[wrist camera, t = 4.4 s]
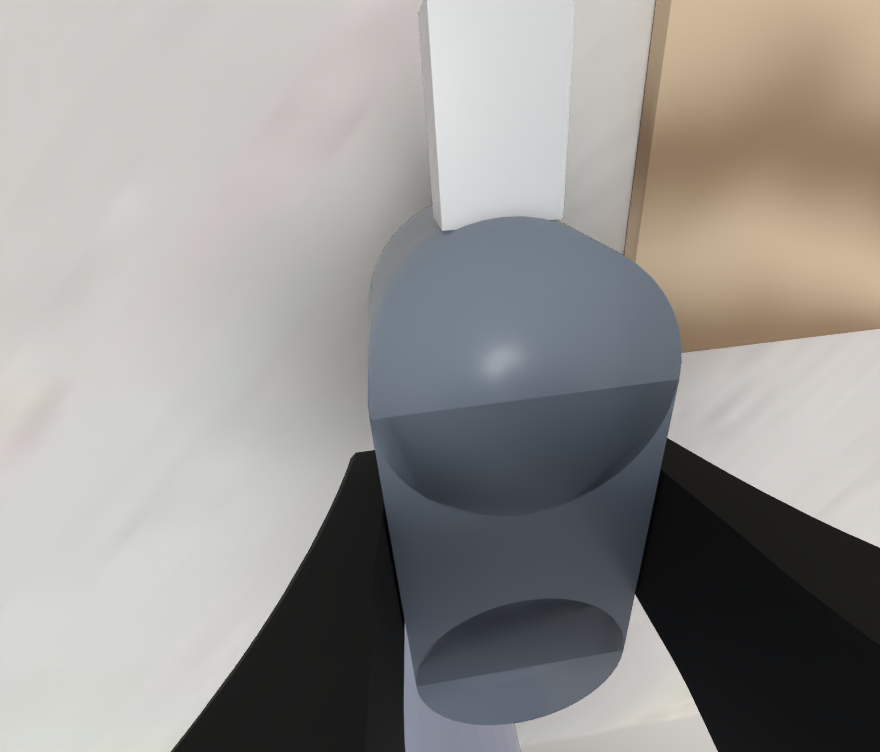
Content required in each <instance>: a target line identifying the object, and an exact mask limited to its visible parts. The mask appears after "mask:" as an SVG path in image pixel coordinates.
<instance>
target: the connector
mask: <svg viewBox="0 0 880 752" xmlns="http://www.w3.org/2000/svg"><path fill="white" fill-rule="evenodd" d="M574 15H575V0H423V3H422V5H421V7H420V10H419V12H418V18H419V32H420V45H421V58H422V72H423V85H424V98H425V112H426V125H427V138H428V152H429V165H430V179H431V192H432V205H430V206H428V207H426V208H425V209H423V210H422V211H420V212H419V213H417V214H415V215H414V216H413V217H412V218H410V219H409V220H408V221H407V222H406V223H405V224H403V225H402V226H401V228H400V229H399V230H398V231H397V232H396V233H395V234H394V235H393V236H392V238H391V239H390V241H389V242H388V244H387V245H386V247H385V248H384V250H383V252H382V254H381V256H380V258H379V260H378V262H377V265H376V268H375V271H374V273H373V277H372V282H371V287H370V300H369V365H368V407H369V417H370V424H371V430H372V436H373V441H374V447H375V453H376V459H377V464H378V470H379V476H380V481H381V487H382V493H383V499H384V504H385V510H386V516H387V522H388V527H389V533H390V539H391V544H392V550H393V556H394V562H395V567H396V573H397V579H398V585H399V590H400V596H401V602H402V607H403V613H404V619H405V625H406V630H407V636H408V642H409V648H410V653H411V659H412V665H413V670H414V676H415V682H416V687H417V691H418V694H419V696H420V698H421V699H422V701H423V702H424V703H425V704H426V705H427V707H429V708H430V709H431V710H432V711H434V712H435V713H437V714H439V715H441V716H443V717H445V718H448V719H450V720H453V721H457V722H461V723H467V724H474V725H503V724H512V723H519V722H524V721H528V720H533V719H536V718H540V717H543V716H546V715H549V714H552V713H554V712H557V711H559V710H562V709H564V708H566V707H568V706H570V705H572V704H574V703H576V702H578V701H579V700H581V699H583V698H584V697H586V696H587V695H589V694H590V693H591V692H593V691H594V690H595V689H597V688H598V687H599V686H600V685H601V684H602V683H603V682H605V680H606V679H607V678H608V677H609V676H610V675H611V674H612V672H613V671H614V669H615V668H616V667H617V665H618V663H619V661H620V659H621V656H622V653H623V649H624V644H625V639H626V634H627V630H628V625H629V620H630V615H631V610H632V605H633V600H634V595H635V591H636V586H637V581H638V576H639V571H640V566H641V561H642V557H643V552H644V547H645V542H646V537H647V532H648V527H649V523H650V518H651V513H652V508H653V503H654V498H655V493H656V489H657V484H658V479H659V474H660V469H661V464H662V459H663V455H664V450H665V445H666V440H667V435H668V430H669V425H670V421H671V416H672V411H673V406H674V401H675V396H676V391H677V387H678V382H679V376H680V368H681V339H680V333H679V327H678V324H677V321H676V318H675V315H674V312H673V309H672V307H671V305H670V303H669V301H668V299H667V297H666V296H665V294H664V292H663V291H662V290H661V288H660V287H659V286H658V284H657V283H656V282H655V281H654V279H653V278H652V277H651V276H650V275H649V274H648V273H646V272H645V271H644V270H643V269H642V268H641V267H640V266H639V265H638V264H636V263H635V262H633V261H631V260H630V259H628V258H627V257H625V256H624V255H622V254H620V253H619V252H617V251H615V250H613V249H611V248H609V247H607V246H605V245H603V244H602V243H600V242H598V241H596V240H594V239H592V238H590V237H588V236H587V235H585V234H583V233H581V232H579V231H577V230H575V229H573V228H571V227H570V226H568V225H566V224H564V223H562V222H560V221H558V220H556V219H563V213H564V195H565V177H566V159H567V141H568V123H569V105H570V87H571V69H572V51H573V33H574Z"/></svg>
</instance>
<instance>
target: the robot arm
mask: <svg viewBox="0 0 880 752" xmlns="http://www.w3.org/2000/svg"><path fill="white" fill-rule="evenodd" d="M635 595H636V597H637V598H638V600H639V602H640V603H641V605H642V607H643V609H644V610H645V612H646V614H647V615H648V617H649V619H650V621H651V622H652V624H653V626H654V627H655V629H656V631H657V633H658V634H659V636H660V638H661V640H662V641H663V643H664V645H665V646H666V648H667V650H668V652H669V653H670V655H671V657H672V658H673V660H674V662H675V664H676V666H677V668H678V670H679V672H680V673H681V675H682V677H683V679H684V681H685V683H686V685H687V687H688V689H689V691H690V693H691V695H692V697H693V699H694V701H695V704H696V706H697V708H698V710H699V712H700V714H701V716H702V718H703V720H704V723H705V725H706V727H707V729H708V731H709V733H710V735H711V738H712V740H713V742H714V744H715V746H716V748H717V750H718V752H880V548H879V547H877V546H874V545H872V544H870V543H868V542H865V541H863V540H861V539H859V538H856V537H854V536H852V535H850V534H847V533H845V532H843V531H841V530H839V529H836V528H834V527H832V526H830V525H828V524H826V523H824V522H822V521H820V520H817V519H815V518H813V517H811V516H809V515H807V514H805V513H803V512H801V511H799V510H797V509H795V508H794V507H792V506H790V505H788V504H786V503H784V502H782V501H780V500H778V499H776V498H774V497H772V496H770V495H768V494H766V493H764V492H762V491H760V490H759V489H757V488H755V487H753V486H751V485H749V484H747V483H745V482H744V481H742V480H740V479H738V478H736V477H735V476H733V475H731V474H729V473H727V472H726V471H724V470H722V469H720V468H718V467H717V466H715V465H713V464H711V463H710V462H708V461H706V460H704V459H703V458H701V457H699V456H697V455H696V454H694V453H692V452H690V451H689V450H687V449H685V448H684V447H682V446H680V445H678V444H677V443H675V442H673V441H671V440H670V439H668V438H667V440H666V445H665V450H664V455H663V459H662V464H661V469H660V474H659V479H658V484H657V489H656V493H655V498H654V503H653V508H652V513H651V518H650V523H649V527H648V532H647V537H646V542H645V547H644V552H643V557H642V561H641V566H640V571H639V576H638V581H637V586H636V591H635ZM171 752H521V749H520V745H519V741H518V737H517V732H516V728H515V724H514V723H512V724H503V725H474V724H467V723H461V722H457V721H453V720H450V719H448V718H445V717H443V716H441V715H439V714H437V713H435V712H434V711H432V710H431V709H430V708H429V707H427V705H426V704H425V703H424V702H423V701H422V699H421V698H420V696H419V694H418V691H417V687H416V682H415V676H414V670H413V665H412V659H411V653H410V648H409V642H408V636H407V630H406V625H405V619H404V613H403V607H402V602H401V596H400V590H399V585H398V579H397V573H396V567H395V562H394V556H393V550H392V544H391V539H390V533H389V527H388V522H387V516H386V510H385V504H384V499H383V493H382V487H381V481H380V476H379V470H378V464H377V459H376V453H375V450H373V451H365V452H358V453H355V454H354V455H353V457H352V458H351V459H350V462H349V465H348V468H347V471H346V473H345V476H344V478H343V481H342V483H341V485H340V488H339V490H338V492H337V495H336V497H335V499H334V501H333V503H332V506H331V508H330V510H329V512H328V514H327V516H326V518H325V520H324V522H323V524H322V526H321V528H320V530H319V532H318V534H317V536H316V538H315V540H314V542H313V543H312V545H311V547H310V549H309V551H308V553H307V554H306V556H305V558H304V560H303V561H302V563H301V565H300V566H299V568H298V570H297V572H296V573H295V575H294V577H293V578H292V580H291V582H290V584H289V585H288V587H287V589H286V591H285V592H284V594H283V596H282V597H281V599H280V600H279V602H278V604H277V605H276V607H275V608H274V610H273V611H272V613H271V615H270V616H269V618H268V619H267V621H266V622H265V624H264V625H263V627H262V628H261V630H260V631H259V633H258V634H257V636H256V637H255V639H254V640H253V642H252V643H251V645H250V646H249V648H248V649H247V650H246V652H245V653H244V655H243V656H242V658H241V659H240V661H239V662H238V663H237V665H236V666H235V668H234V669H233V670H232V672H231V673H230V674H229V676H228V677H227V678H226V680H225V681H224V682H223V684H222V685H221V687H220V688H219V689H218V691H217V692H216V693H215V695H214V696H213V697H212V699H211V700H210V701H209V703H208V704H207V706H206V707H205V708H204V710H203V711H202V712H201V714H200V715H199V716H198V718H197V719H196V720H195V721H194V723H193V724H192V725H191V727H190V728H189V729H188V730H187V732H186V733H185V734H184V736H183V737H182V738H181V739H180V741H179V742H178V743H177V744H176V746H175V747H174V748H173V750H172V751H171Z"/></svg>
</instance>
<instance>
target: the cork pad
mask: <svg viewBox="0 0 880 752" xmlns="http://www.w3.org/2000/svg"><path fill="white" fill-rule="evenodd" d="M624 256H625V257H627V258H628V259H630V260H631V261H633V262H635V263H636V264H638V265H639V266H640V267H641V268H642V269H643V270H644V271H645V272H646V273H648V274H649V275H650V276H651V277H652V278H653V279H654V281H655V282H656V283H657V284H658V286H659V287H660V288H661V290H662V291H663V292H664V294H665V296H666V297H667V299H668V301H669V303H670V305H671V307H672V309H673V312H674V315H675V318H676V321H677V324H678V327H679V333H680V339H681V353H684V352H692V351H701V350H709V349H717V348H725V347H733V346H742V345H750V344H758V343H766V342H774V341H782V340H791V339H799V338H807V337H815V336H823V335H832V334H840V333H848V332H856V331H864V330H872V329H880V0H656V6H655V14H654V22H653V30H652V38H651V46H650V54H649V61H648V69H647V77H646V85H645V93H644V101H643V109H642V117H641V125H640V133H639V141H638V149H637V157H636V165H635V173H634V181H633V189H632V197H631V205H630V213H629V221H628V229H627V237H626V245H625V253H624Z"/></svg>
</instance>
